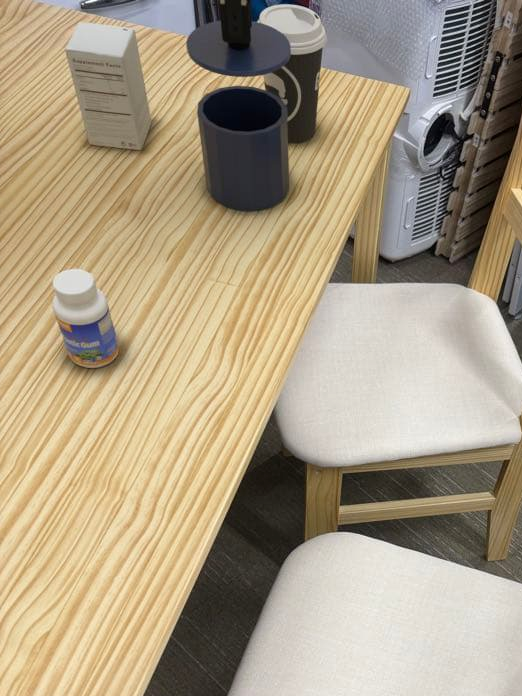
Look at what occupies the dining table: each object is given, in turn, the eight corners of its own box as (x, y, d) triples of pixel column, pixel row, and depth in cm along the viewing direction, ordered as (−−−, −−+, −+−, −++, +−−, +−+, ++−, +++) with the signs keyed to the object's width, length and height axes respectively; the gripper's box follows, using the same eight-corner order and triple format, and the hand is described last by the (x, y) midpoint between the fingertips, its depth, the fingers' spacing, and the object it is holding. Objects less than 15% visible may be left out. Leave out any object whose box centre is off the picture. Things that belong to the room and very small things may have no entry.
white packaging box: (100, 116, 111) (78, 19, 101) (153, 122, 112) (136, 26, 101) (87, 145, 107) (62, 48, 97) (141, 151, 108) (123, 55, 97)
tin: (204, 209, 102) (194, 131, 93) (209, 161, 108) (200, 83, 99) (289, 213, 104) (287, 136, 95) (289, 164, 109) (287, 88, 101)
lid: (183, 79, 88) (174, 14, 82) (191, 27, 94) (183, -37, 88) (291, 85, 89) (289, 21, 84) (291, 33, 96) (289, -30, 90)
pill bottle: (61, 364, 85) (34, 293, 77) (80, 331, 88) (56, 259, 80) (109, 373, 85) (88, 303, 77) (127, 340, 88) (108, 269, 80)
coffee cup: (323, 152, 112) (325, 40, 99) (256, 146, 111) (249, 32, 98) (327, 116, 117) (328, 5, 104) (262, 110, 116) (256, -3, 104)
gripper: (186, -206, 78) (208, -1, 94) (173, -146, 70) (199, 69, 85) (262, -199, 79) (271, 3, 94) (258, -138, 70) (269, 73, 86)
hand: (237, 32), depth 90 cm, fingers closed on lid, 2 cm apart
